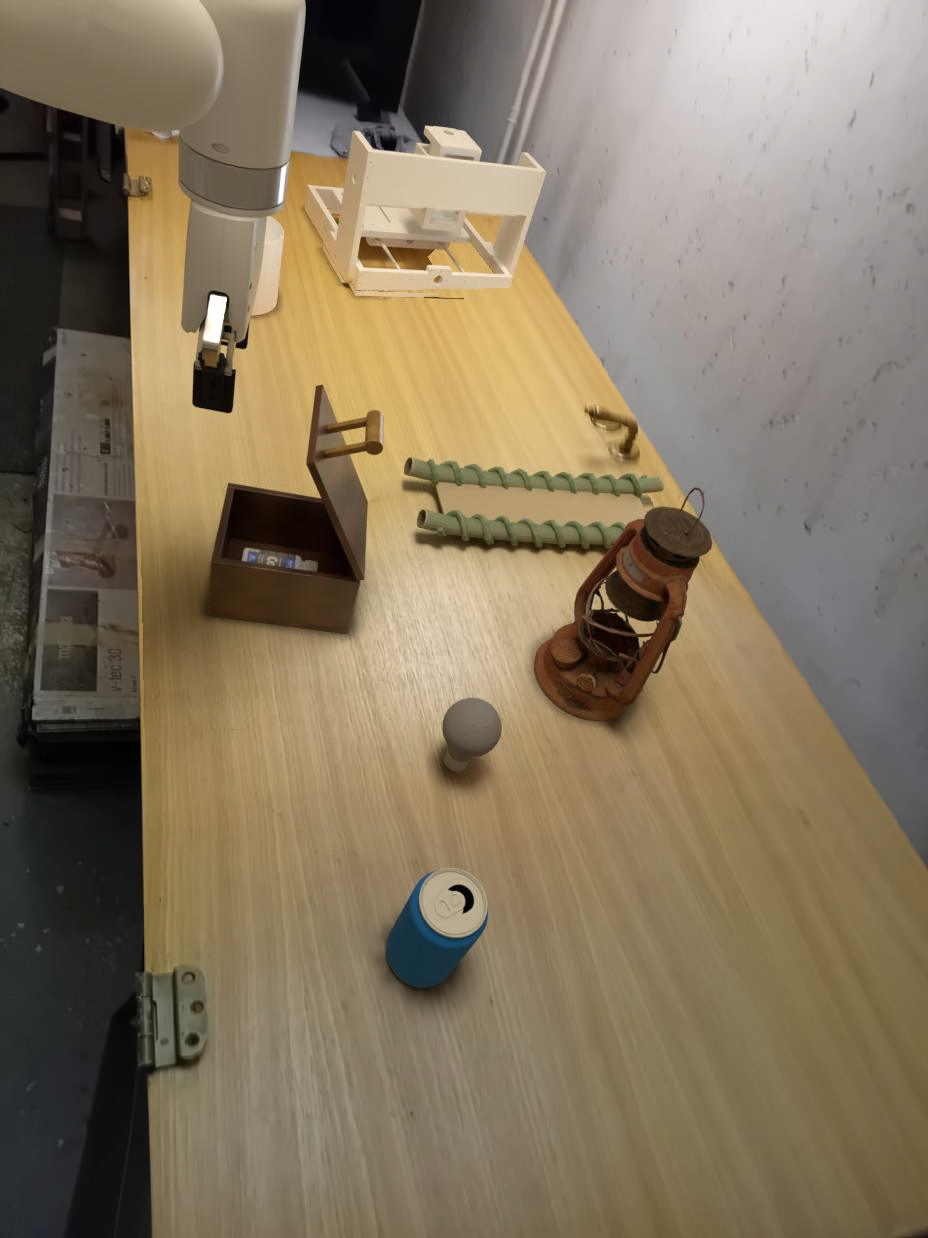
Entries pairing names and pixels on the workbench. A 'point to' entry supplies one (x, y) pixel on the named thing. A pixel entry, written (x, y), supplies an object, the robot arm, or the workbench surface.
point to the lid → (342, 473)
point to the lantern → (641, 589)
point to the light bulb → (469, 731)
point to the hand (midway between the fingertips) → (221, 375)
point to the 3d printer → (425, 212)
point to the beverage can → (437, 927)
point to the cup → (269, 268)
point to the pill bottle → (278, 559)
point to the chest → (273, 588)
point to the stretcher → (531, 504)
